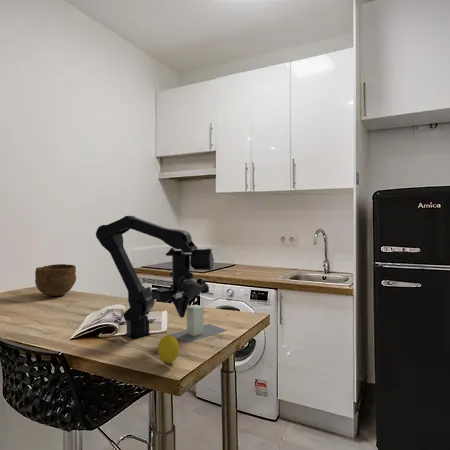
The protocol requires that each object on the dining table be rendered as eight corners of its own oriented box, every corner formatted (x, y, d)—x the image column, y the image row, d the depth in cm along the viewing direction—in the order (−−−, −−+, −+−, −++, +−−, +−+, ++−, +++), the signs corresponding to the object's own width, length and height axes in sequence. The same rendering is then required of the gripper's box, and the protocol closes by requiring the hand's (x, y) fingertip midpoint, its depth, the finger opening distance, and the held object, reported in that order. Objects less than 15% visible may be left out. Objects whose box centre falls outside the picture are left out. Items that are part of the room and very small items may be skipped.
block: (193, 336, 113) (193, 309, 113) (186, 333, 116) (186, 306, 116) (203, 333, 116) (203, 306, 115) (196, 330, 119) (196, 304, 118)
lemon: (159, 360, 95) (159, 331, 95) (179, 359, 96) (179, 330, 96) (157, 368, 90) (156, 338, 90) (178, 368, 90) (178, 337, 90)
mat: (186, 343, 107) (186, 342, 107) (169, 335, 115) (169, 334, 115) (227, 331, 119) (227, 330, 119) (209, 324, 126) (209, 323, 126)
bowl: (66, 300, 165) (65, 269, 165) (27, 300, 166) (26, 269, 165) (83, 291, 184) (82, 263, 184) (48, 291, 184) (47, 263, 184)
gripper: (169, 276, 100) (170, 329, 100) (219, 269, 112) (219, 317, 112) (150, 271, 108) (151, 321, 108) (198, 265, 120) (199, 310, 121)
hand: (181, 317), depth 112 cm, fingers closed
